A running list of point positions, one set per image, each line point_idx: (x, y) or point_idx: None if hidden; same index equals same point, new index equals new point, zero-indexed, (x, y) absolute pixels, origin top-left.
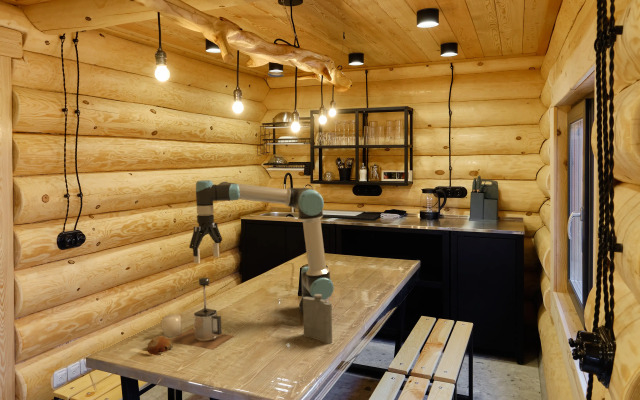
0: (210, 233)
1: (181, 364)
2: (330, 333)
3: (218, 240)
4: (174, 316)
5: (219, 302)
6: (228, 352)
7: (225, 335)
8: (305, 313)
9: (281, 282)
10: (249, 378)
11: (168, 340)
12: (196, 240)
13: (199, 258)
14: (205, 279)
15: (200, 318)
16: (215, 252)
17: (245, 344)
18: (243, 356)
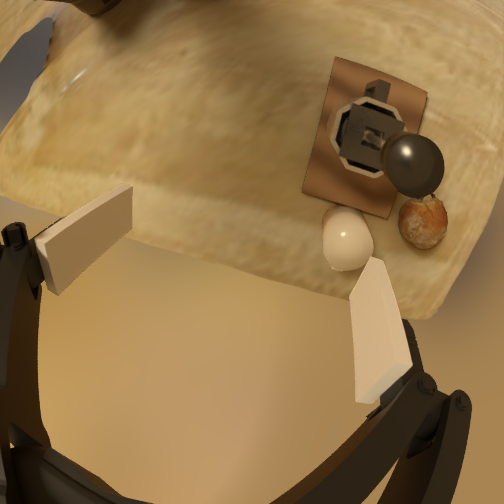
0: (25, 421)
1: (478, 149)
2: None
3: (10, 258)
4: (339, 244)
5: None
6: (418, 56)
7: (337, 81)
8: None
9: (11, 146)
10: (495, 16)
11: (427, 209)
12: (440, 479)
13: (380, 283)
14: (429, 153)
15: None
16: (109, 226)
17: (365, 24)
18: (427, 22)
